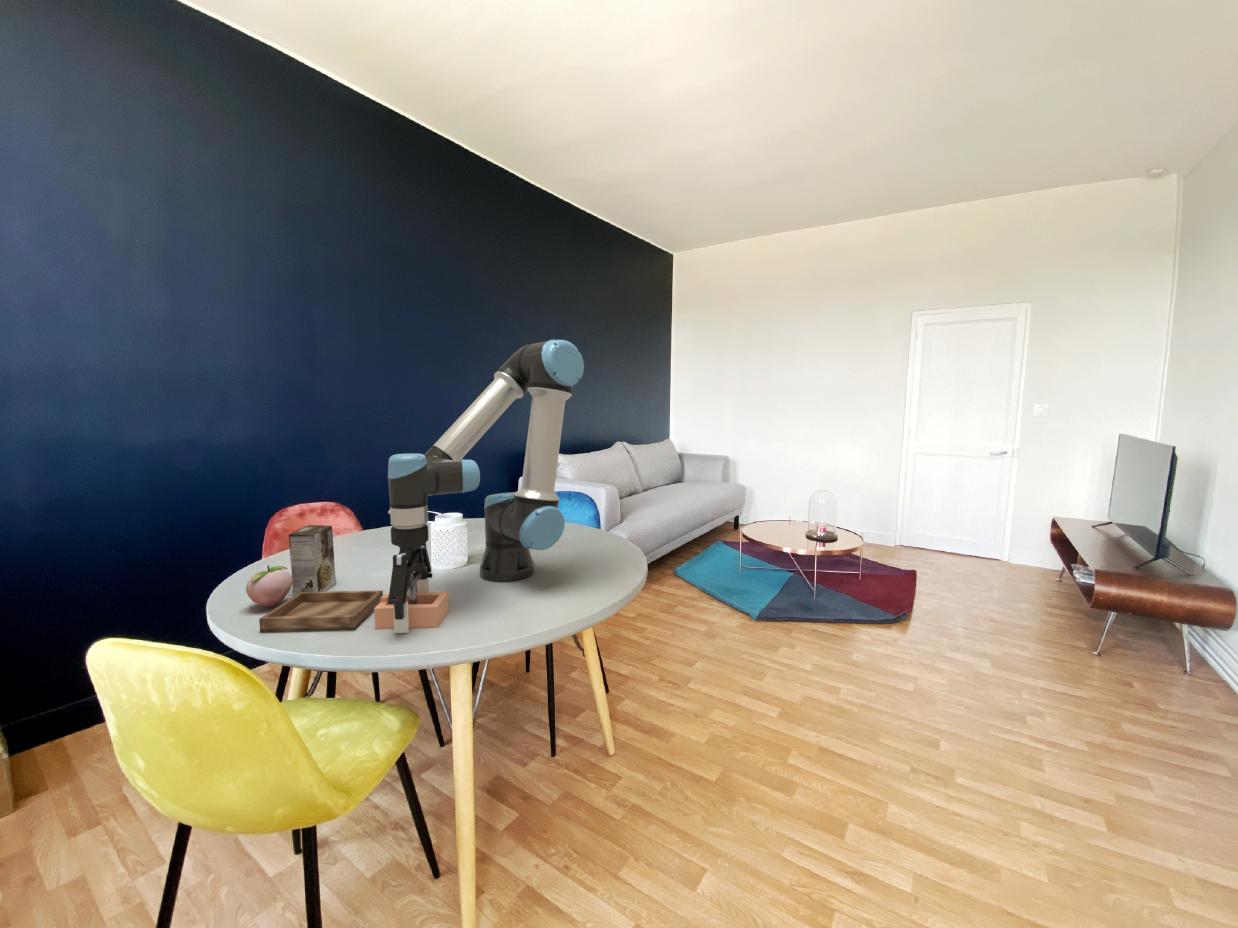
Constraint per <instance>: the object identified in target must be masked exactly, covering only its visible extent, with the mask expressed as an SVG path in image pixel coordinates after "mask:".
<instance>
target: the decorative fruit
mask: <svg viewBox="0 0 1238 928" xmlns="http://www.w3.org/2000/svg"><path fill="white" fill-rule="evenodd" d="M285 569H286V570H285ZM287 570H288V567H286V566H284V565H274V566H271V567H270V565H269V564H268V565H267V569H263V570H259V571H257V572H255V573H254V574H253V575H252V576H250V577H249V579H248V580H247V582H246V585H245V591H246V593H247V596H248V598H249V599H250V600H251V601H252V602H253V603H255V604H256V605H259V606H262V607H274V606H276V605H277V604H278V603H280V602H281V601H283V600H284V598H286V596H287V595H288V594H289V593H290V590H291V589H292V588H293V586H292V584H293V578H292V574H290V572H289V571H287Z"/></svg>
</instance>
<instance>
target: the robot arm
mask: <svg viewBox="0 0 1238 928" xmlns="http://www.w3.org/2000/svg"><path fill="white" fill-rule="evenodd" d="M584 369H585V362H584V358H583V356H582V353H581V352H579V349H578V348H577V346H576V345H575V344H573V343H572V342H570V341H568V340H565V339H550V340H548V341H547V340H546V341H541V342H535V343H534V342H533V343H529V344H525V345H523V346H522V347H520V348H519V349H518V350H516V351H515V352H514V353H513V354H512V355H511V356H510V357H508V358H507V360H506V361H504V363H503V364H502V365H501V366H500V367H499V368H498V369H497V371H496V372H495V373H493V378H494V379H493V381H491V383H490V384H488V385H487V387H486V388H485V389H484V390H483V391H482V392H481V394H480V395H478V396H477V398H476V399H475V400H474V401H473V402H472V403H471V404H470V405H469V406H468V408H466V410H465V411H464V412H463V413H461V415H460V416H459V417H458V418H457V419H456V420H455V422H453V423H452V425H451V426H450V427H449V428H448V429H447V430H446V431H445V432H444V433H443V434H442V435H441V436H440V437H439V439H438V440H437V441H436V442H435V443H434V444H433V445H432V446H431V447H430V448H429V449H428V450H427V451H426V452H425V453H423V454H422V453H397V454H393V455H391V456H390V457H389V458H388V467H387V470H388V471H387V480H388V494H389V510H388V511H387V514H388V515H390V516H389V517H390V525H391V527H390V543H391V545H392V546H395V547H398V548H399V552H398V554H394V555H393V556H392V570H391V577H390V585H389V592H388V594H389V599H388V604H393V611H394V628H393V630H394V632H393V633H394V634H408V633H409V632H410V628H409V616H408V601H407V602H406V598H407V593H408V588H409V583H410V579H411V574H412V573H413V572H421V578H420V579H419V580H418V581H417V592H430V589H429V588H430V585H429V579H432V578H433V572H432V571H433V570H432V566H431V561H430V557H429V553H428V548H427V542H428V541H429V525H428V522H429V513H428V512H429V510H428V509H429V508H428V507H429V506H428V496H429V497H431V496H438V495H440V496H441V495H447V494H458V493H459V494H460V493H461V494H465V493H467V492H471V491H472V492H473V491H475V490H477V488H478V487H479V485H480V481H481V471H480V467H479V466H478V463H477V462H476V461H475V460H473V459H464V457H465V456H466V455H467V454H468V452H469V451H470V450H472V448H473V447H474V446H475V445H476V444H477V443H478V441H479V440H481V439H482V437H483V436H485V434H486V433H487V431H488V430H489V429H491V427H492V426H493V425H494V424H495V422H496V421H498V419H499V418H500V417H501V416H502V415H503V414H504V412H505V411H506V410H507V409H508V408H509V407H510V406H511V405H512V403H513V402H514V401H516V399H522V398H523V397H524V396H525V395H526V394H527V393H528V392H529V394H530V395H531V405H530V412H529V413H530V414H529V415H530V416H529V422H528V429H527V431H528V432H527V439H526V444H525V445H526V446H525V454H524V455H525V456H524V463H523V468H522V469H523V470H522V479H521V487H520V488H519V490H517V491H514V492H513V491H512V492H502V493H501V492H500V493H494V494H490V495H487V496H486V497H485V498H484V505H483V506H484V508H483V510H484V526H485V527H484V531H485V532H484V533H485V535H484V536H485V548H484V549H485V550H484V553H483V556H482V559H481V562H480V565H479V576H480V577H481V578H482V579H484V580H486V581H491V582H513V581H519V580H523V579H525V578H528V577H530V576H532V575H533V574H534V573H535V563H534V560H533V557H532V554H531V551H530V550H535V551H544V550H548V549H550V548H552V547H553V546H554V545H555V544H556V543H558V541H559V540H560V538H561V537H562V535H563V534H564V530H565V525H566V524H565V523H566V522H565V517H564V515H563V514H562V513H563V512H562V511H561V510H559V503H560V502H559V501H560V497H558V495H557V494H556V492H555V489H556V487H555V486H556V478H557V473H558V471H557V470H558V462H559V456H560V455H559V454H560V445H561V438H562V430H563V423H564V414H565V406H566V401H567V400H569V399H570V398H571V397H572V395H573V389H574V388H573V387H574V386H575V385H576V384H578V383H579V381H580V380H581V379H582V377H583V375H584ZM397 597H398V598H397Z"/></svg>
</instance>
